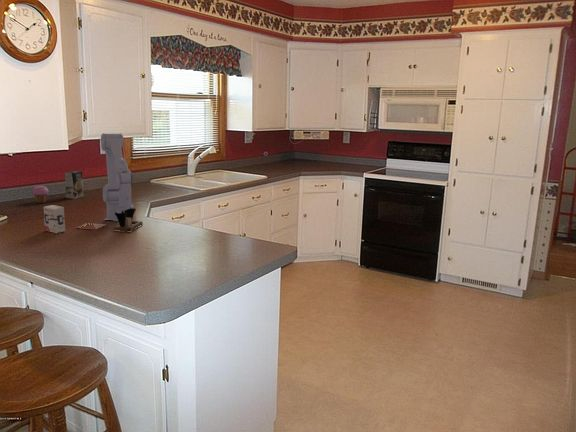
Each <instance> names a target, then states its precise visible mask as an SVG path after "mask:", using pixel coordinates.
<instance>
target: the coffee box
mask: <svg viewBox="0 0 576 432" xmlns="http://www.w3.org/2000/svg"><path fill="white" fill-rule="evenodd" d="M64 179H65V185H64V186H65V198H66V199H74V200H75V199H78V198H82V197H84V180H83V171H80V170H79V171H78V170H76V171H75V170H72V171H67V172H64Z"/></svg>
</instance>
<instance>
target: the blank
mask: <svg viewBox="0 0 576 432" xmlns="http://www.w3.org/2000/svg"><path fill="white" fill-rule="evenodd" d="M132 221H133V219H132V218H129V217H126V221H125V227H128V228H129V227H130V226H132Z"/></svg>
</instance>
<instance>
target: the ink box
mask: <svg viewBox="0 0 576 432" xmlns="http://www.w3.org/2000/svg"><path fill="white" fill-rule="evenodd" d="M43 219H44V223H43V224H44V231H45V230H46V231H50V232H54V233H58V232H63V231H65V232H66V221H65V219H66V218H65V207H64V206H59V205H55V204H51V205H46V206H43ZM46 231H45V232H46ZM50 232H49V233H50ZM54 233H53V234H54Z"/></svg>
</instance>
